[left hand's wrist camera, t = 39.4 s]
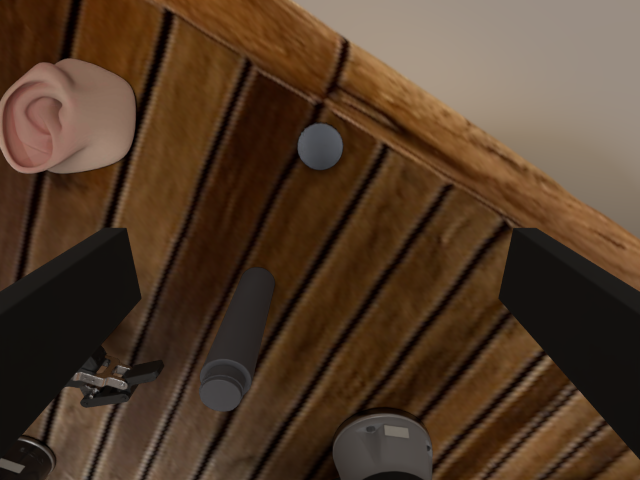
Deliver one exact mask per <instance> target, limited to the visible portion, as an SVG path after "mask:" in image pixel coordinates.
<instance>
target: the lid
mask: <svg viewBox="0 0 640 480" xmlns="http://www.w3.org/2000/svg"><path fill="white" fill-rule="evenodd" d="M301 133H302V134H301V136H299V141H298V143H297V144H298V148H297V149H298V153H299V156H300V158H301V160H302V161H303V162H304V164H306V165H307V166H308V167H310V168H312V169H316V170H325V169H328V168H330V167H332V166H334V165H335V164H336V163H337V162H338V161H339V159H340V157H341V154H342V151H343V143H342V137H340V133H339V132H338V131H337V129H336V128H334V127H333V126H332V125H329V124H327V123H322V122H319V123H316V122H315V123H314V124H310V125H309V126H308V127H305V129H304V131H302V132H301Z"/></svg>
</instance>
